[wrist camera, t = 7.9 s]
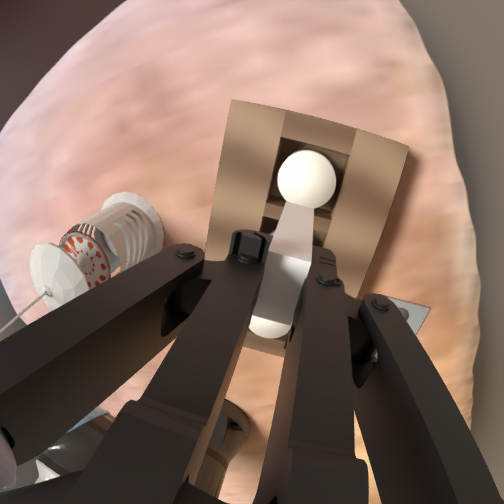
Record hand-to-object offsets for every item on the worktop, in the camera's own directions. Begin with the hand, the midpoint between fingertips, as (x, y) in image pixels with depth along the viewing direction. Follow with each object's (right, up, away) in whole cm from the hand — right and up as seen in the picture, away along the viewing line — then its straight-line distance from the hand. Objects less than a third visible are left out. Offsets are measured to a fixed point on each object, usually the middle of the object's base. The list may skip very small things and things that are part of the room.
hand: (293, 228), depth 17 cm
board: (+2, 0, +17) cm, 17 cm away
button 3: (+3, +6, +12) cm, 14 cm away
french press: (-17, +1, +21) cm, 27 cm away
